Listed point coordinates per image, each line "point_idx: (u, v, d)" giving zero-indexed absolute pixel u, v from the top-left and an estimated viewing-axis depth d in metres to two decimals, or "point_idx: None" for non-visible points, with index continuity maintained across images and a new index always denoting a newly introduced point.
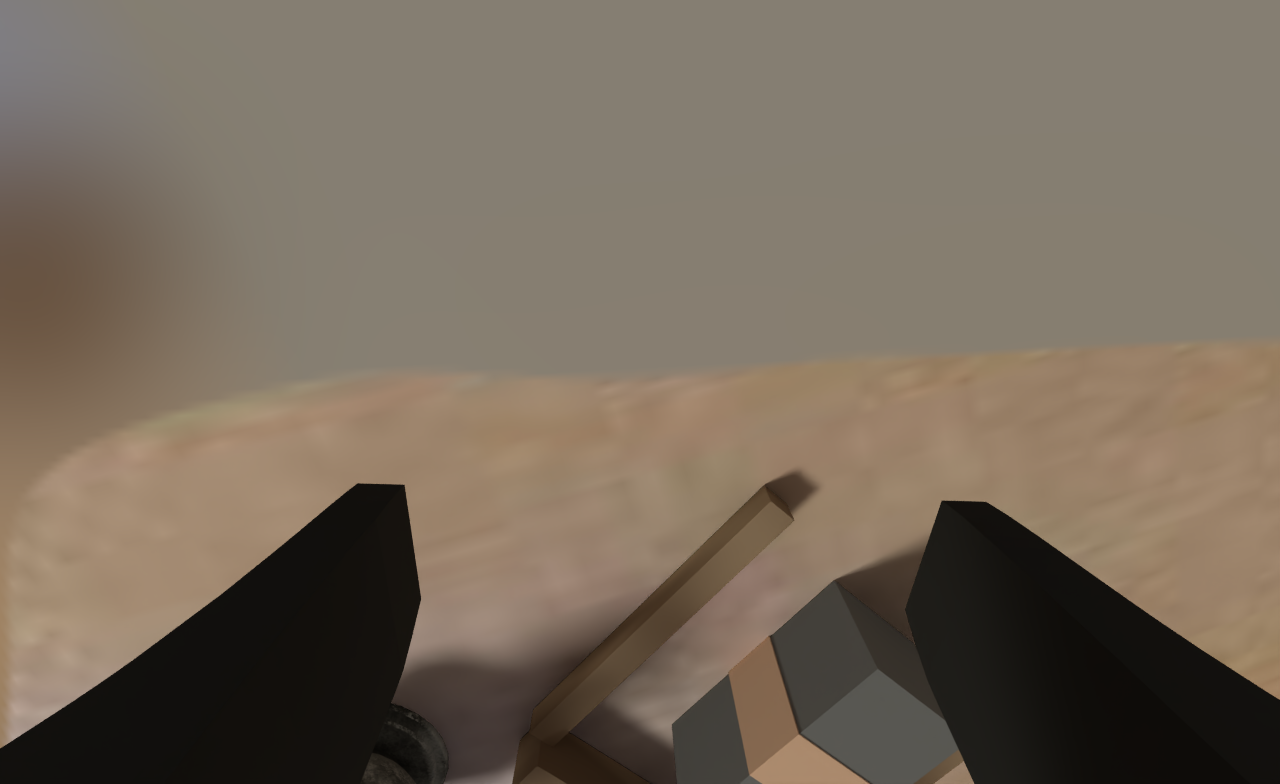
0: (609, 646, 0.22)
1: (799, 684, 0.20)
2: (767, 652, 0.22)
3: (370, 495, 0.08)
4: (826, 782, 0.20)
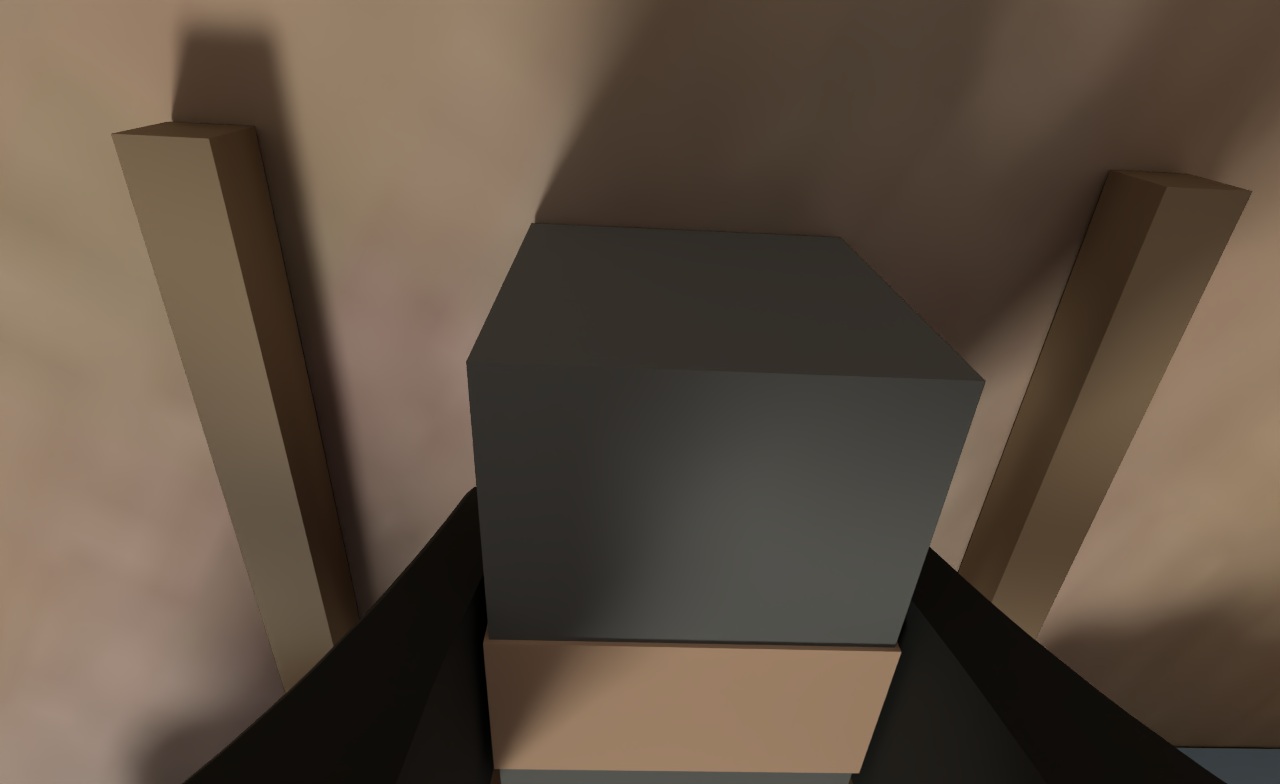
0: None
1: None
2: None
3: None
4: (679, 698, 0.07)
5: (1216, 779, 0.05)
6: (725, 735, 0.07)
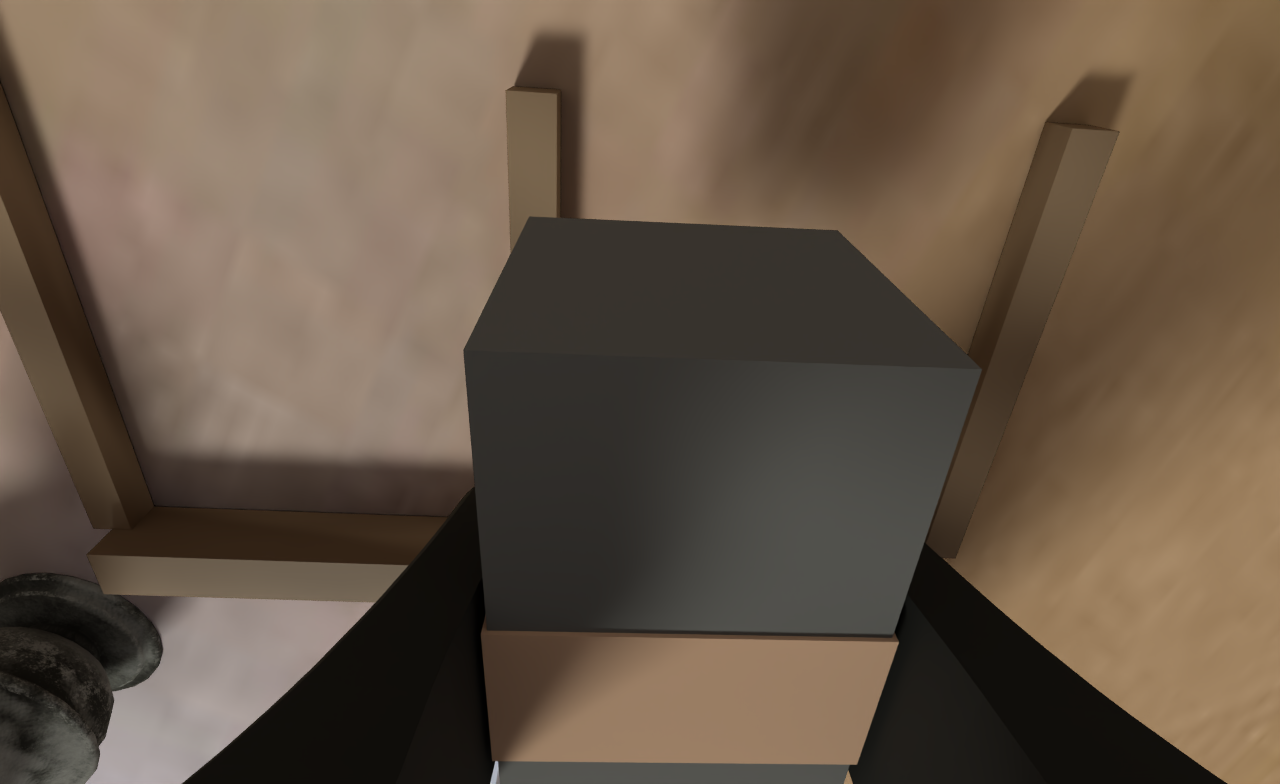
0: None
1: None
2: None
3: None
4: (677, 689, 0.07)
5: (1215, 779, 0.05)
6: (722, 727, 0.07)
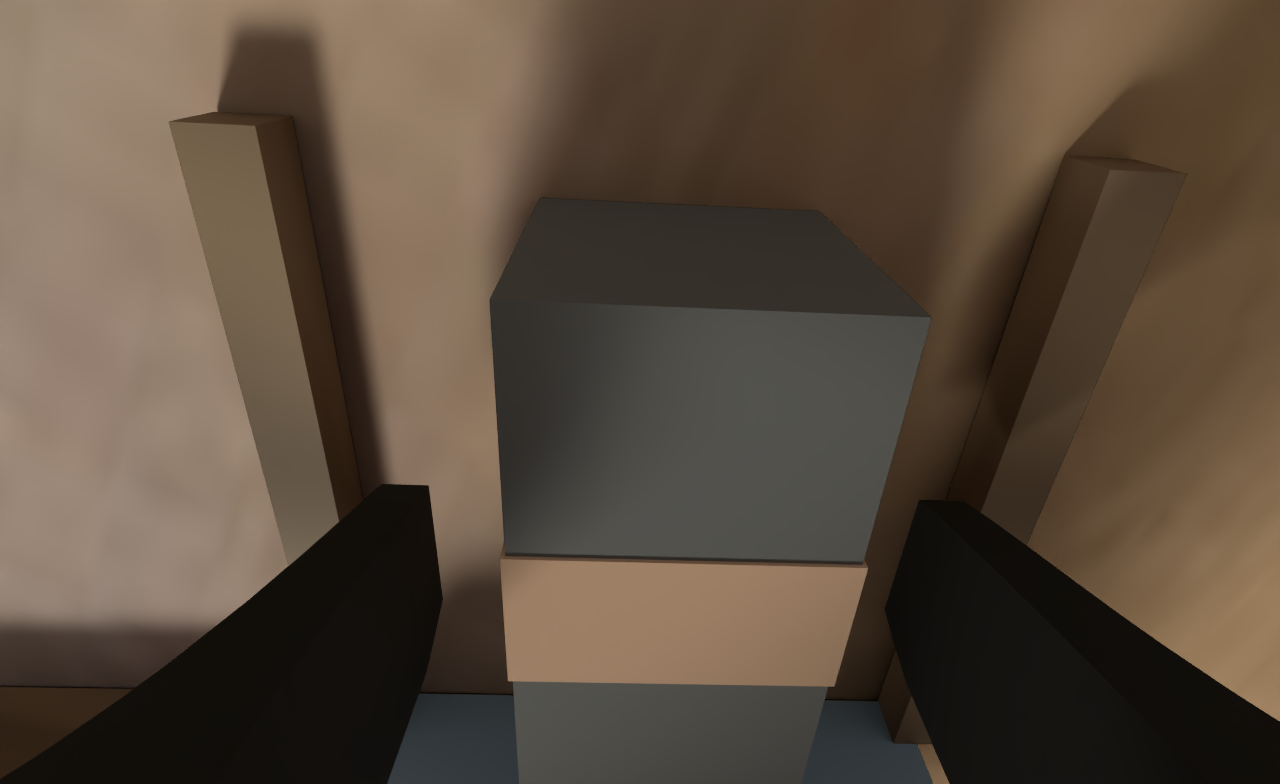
0: None
1: None
2: None
3: (395, 495, 0.08)
4: (673, 613, 0.08)
5: None
6: (712, 650, 0.08)
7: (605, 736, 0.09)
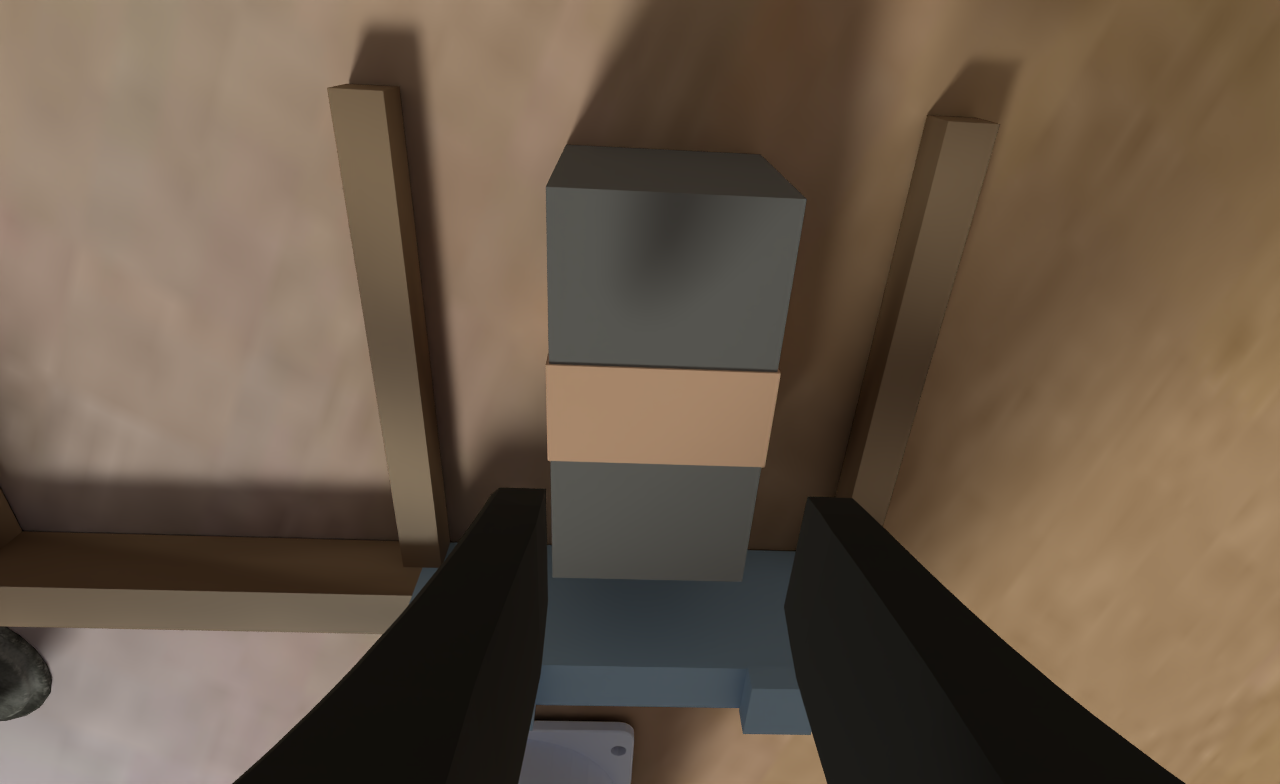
0: None
1: None
2: None
3: (519, 499, 0.08)
4: (656, 407, 0.12)
5: (1176, 778, 0.05)
6: (682, 436, 0.12)
7: (612, 508, 0.13)
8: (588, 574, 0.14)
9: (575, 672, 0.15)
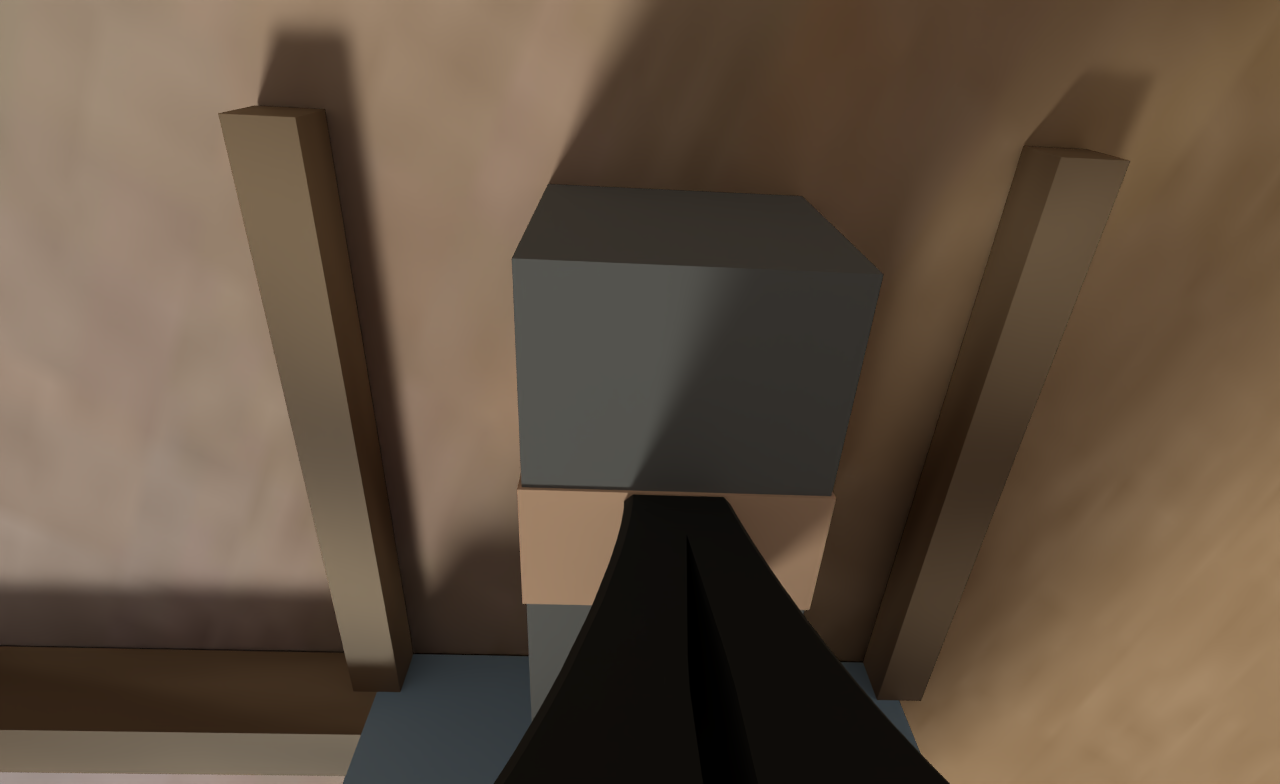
0: None
1: None
2: None
3: (659, 503, 0.08)
4: None
5: (942, 776, 0.05)
6: None
7: None
8: None
9: None
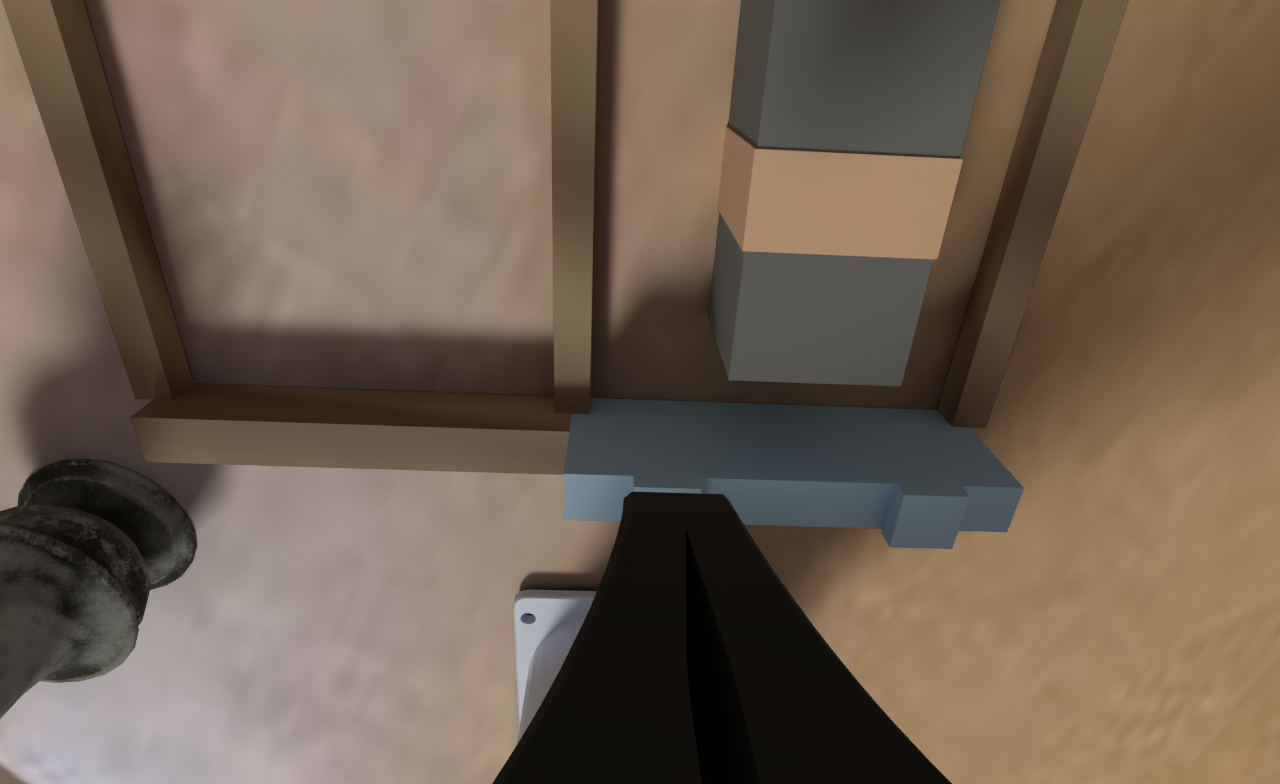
0: None
1: (747, 113, 0.14)
2: (728, 139, 0.16)
3: (658, 503, 0.08)
4: (847, 194, 0.13)
5: (945, 777, 0.05)
6: (868, 225, 0.14)
7: (792, 304, 0.14)
8: (761, 377, 0.15)
9: (735, 487, 0.17)
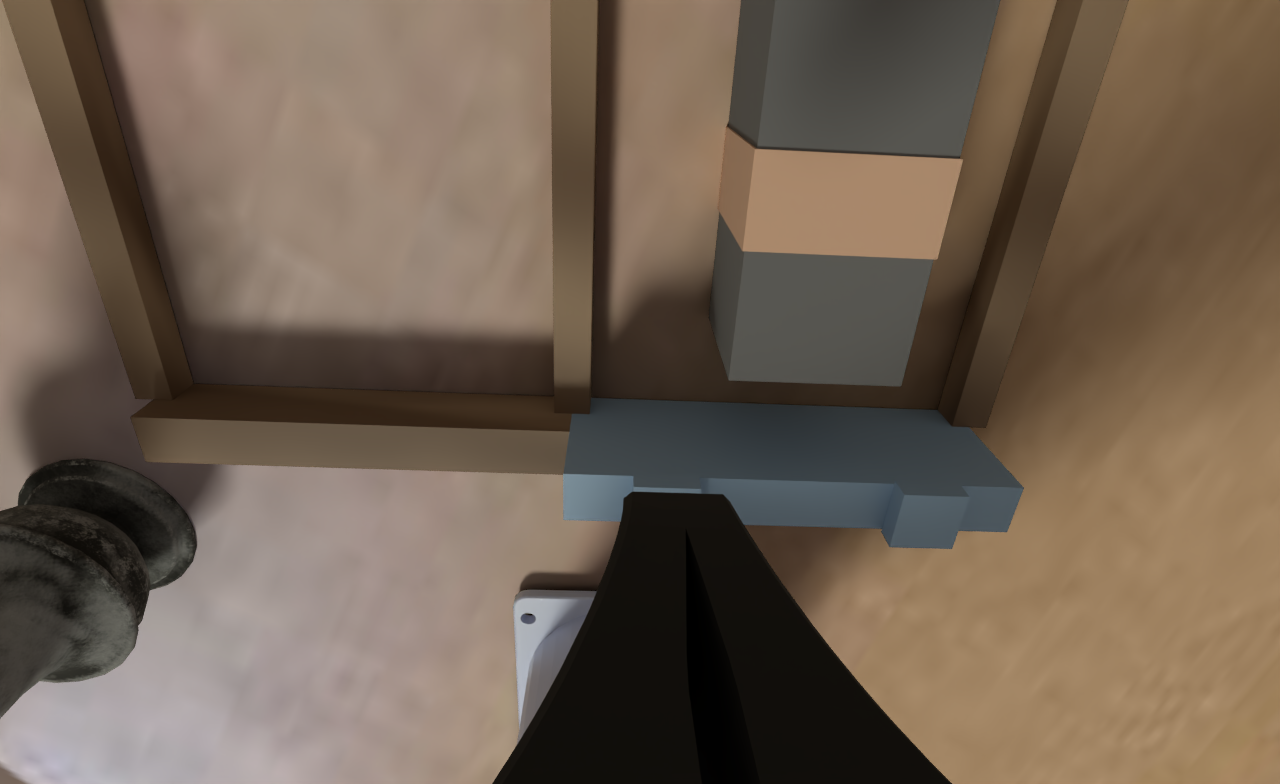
0: None
1: (747, 112, 0.14)
2: (728, 139, 0.16)
3: (658, 503, 0.08)
4: (847, 194, 0.13)
5: (943, 775, 0.05)
6: (868, 225, 0.14)
7: (792, 304, 0.14)
8: (762, 377, 0.15)
9: (735, 487, 0.17)
